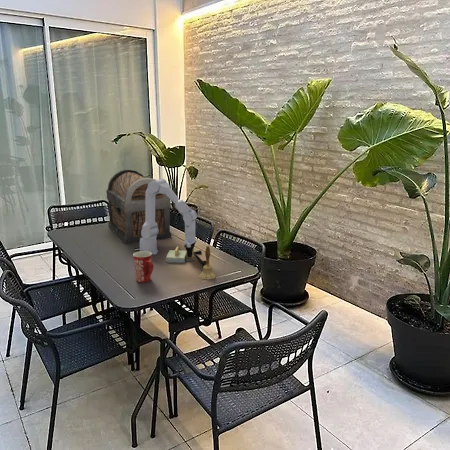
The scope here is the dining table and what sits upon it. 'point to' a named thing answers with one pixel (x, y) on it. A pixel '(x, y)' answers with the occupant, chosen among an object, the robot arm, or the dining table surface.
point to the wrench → (199, 258)
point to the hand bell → (207, 267)
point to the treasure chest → (135, 207)
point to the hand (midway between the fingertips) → (190, 255)
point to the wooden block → (192, 255)
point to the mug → (143, 266)
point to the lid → (176, 254)
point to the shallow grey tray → (176, 260)
